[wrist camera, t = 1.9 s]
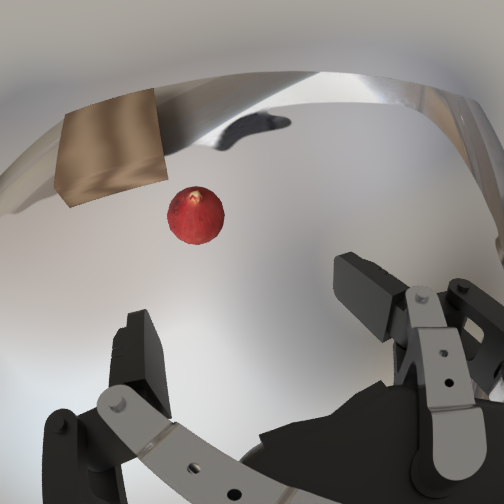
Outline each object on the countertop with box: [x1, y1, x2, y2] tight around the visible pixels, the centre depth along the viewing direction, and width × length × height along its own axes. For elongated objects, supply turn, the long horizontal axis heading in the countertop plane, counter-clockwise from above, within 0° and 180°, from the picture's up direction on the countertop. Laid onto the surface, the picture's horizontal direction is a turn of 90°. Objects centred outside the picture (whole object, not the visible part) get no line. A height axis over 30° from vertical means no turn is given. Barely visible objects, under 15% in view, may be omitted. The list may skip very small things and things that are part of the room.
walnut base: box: [54, 88, 168, 208], centre depth 31 cm, size 14×14×5 cm
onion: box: [167, 186, 225, 245], centre depth 27 cm, size 6×6×8 cm
